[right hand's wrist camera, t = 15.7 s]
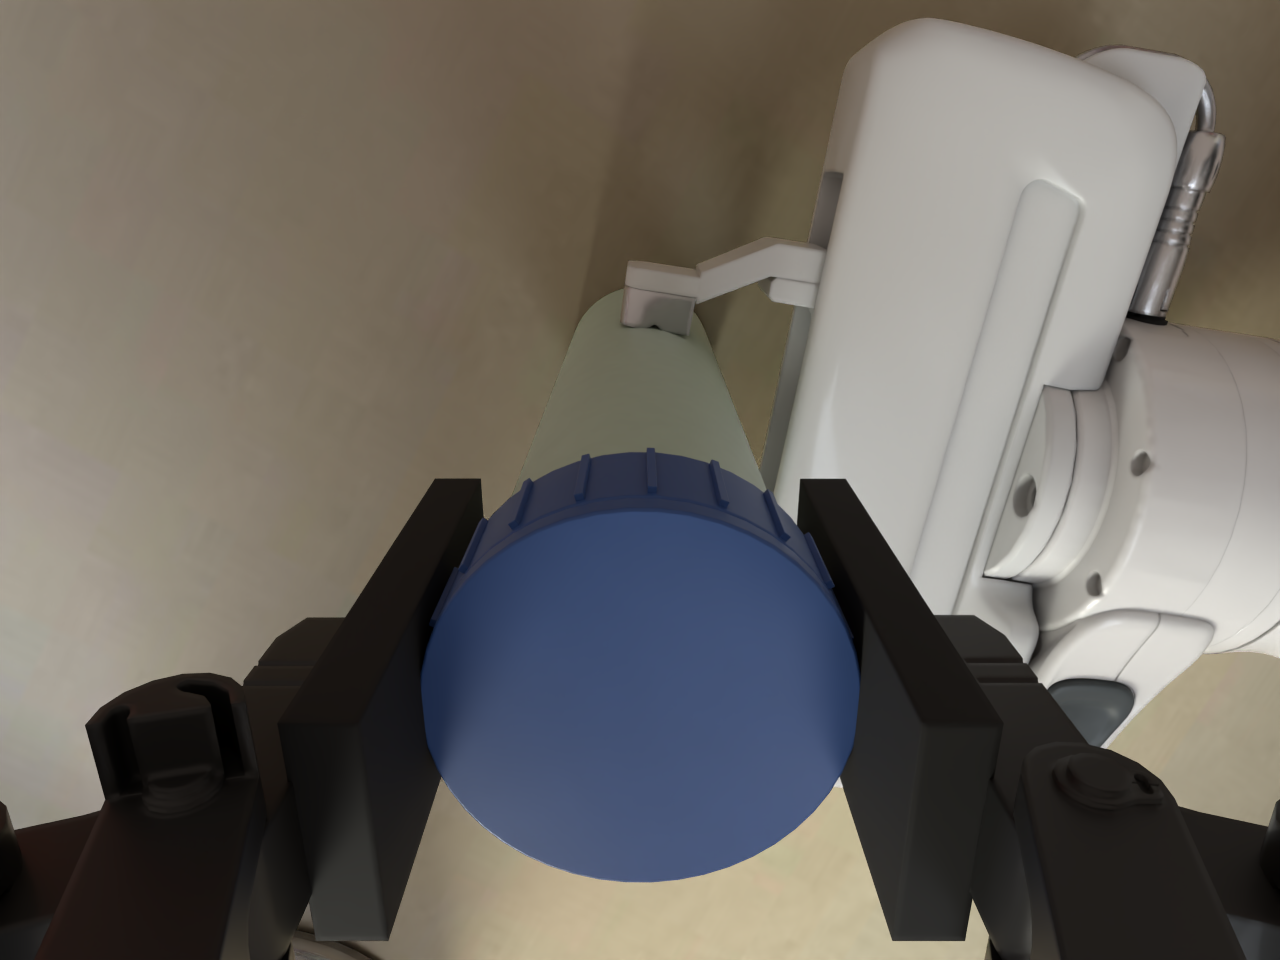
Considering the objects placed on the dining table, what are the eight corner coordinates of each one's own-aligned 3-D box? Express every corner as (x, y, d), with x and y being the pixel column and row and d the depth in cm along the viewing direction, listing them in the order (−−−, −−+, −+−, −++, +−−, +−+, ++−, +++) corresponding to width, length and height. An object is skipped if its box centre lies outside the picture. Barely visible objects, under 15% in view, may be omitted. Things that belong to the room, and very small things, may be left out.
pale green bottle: (557, 404, 30) (426, 783, 12) (589, 269, 28) (497, 465, 10) (687, 437, 30) (759, 853, 12) (726, 307, 29) (878, 559, 10)
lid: (775, 807, 13) (797, 916, 11) (427, 749, 13) (390, 850, 11) (881, 489, 11) (928, 555, 10) (477, 409, 11) (443, 460, 9)
